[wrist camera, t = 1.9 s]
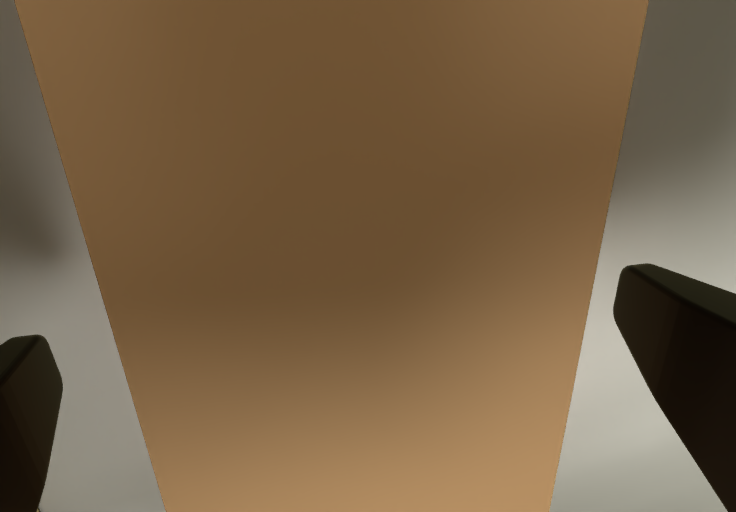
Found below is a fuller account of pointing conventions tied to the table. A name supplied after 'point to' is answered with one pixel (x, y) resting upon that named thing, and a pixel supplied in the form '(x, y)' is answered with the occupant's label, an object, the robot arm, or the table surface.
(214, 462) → the tan rectangular block
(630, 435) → the table surface
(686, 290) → the robot arm
